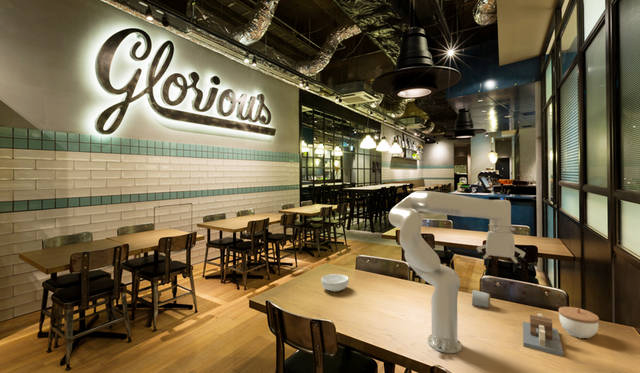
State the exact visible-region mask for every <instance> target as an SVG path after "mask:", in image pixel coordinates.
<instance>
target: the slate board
mask: <svg viewBox="0 0 640 373" xmlns="http://www.w3.org/2000/svg"><path fill="white" fill-rule="evenodd" d="M522 337H523V338H522V339H523V342H522V343H523V347H524V348H530V349H533V350H537V351H541V352H545V353H548V354H552V355H556V356H559V357H564V351H563V347H562V341H561V338H560V334H559V330H558V328H554V327H552V340H549V339H546V335H545V347H544V346H540V342H539V334H538V328H536V336H532V335H530V322H527V321H522Z"/></svg>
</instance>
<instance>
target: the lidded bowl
mask: <svg viewBox="0 0 640 373" xmlns="http://www.w3.org/2000/svg"><path fill="white" fill-rule="evenodd" d="M558 318H559V319H558V320H559V322H560V325H561V326H562V328H563V329H564V330H565V331H566V333H567V335H569V336H572V337H574V338H577V337H578V339H581V338H589V337H590V338H592V337H593V336H595V335H596V334H597V332H598V330H599V321H600V317H599V316H598V315H597V314H595V313H594V312H592V311H589V310H586V309H583V308H580V307H573V306H562V307H561V306H560V307H559V308H558ZM590 338H589V339H590Z"/></svg>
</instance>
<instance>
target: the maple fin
mask: <svg viewBox="0 0 640 373" xmlns="http://www.w3.org/2000/svg"><path fill="white" fill-rule="evenodd" d="M536 316H539V317H543V314H542V313H537V314H536ZM538 334H539V342H540V346H544V347H545V329H544V326H542V325H539V329H538Z"/></svg>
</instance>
